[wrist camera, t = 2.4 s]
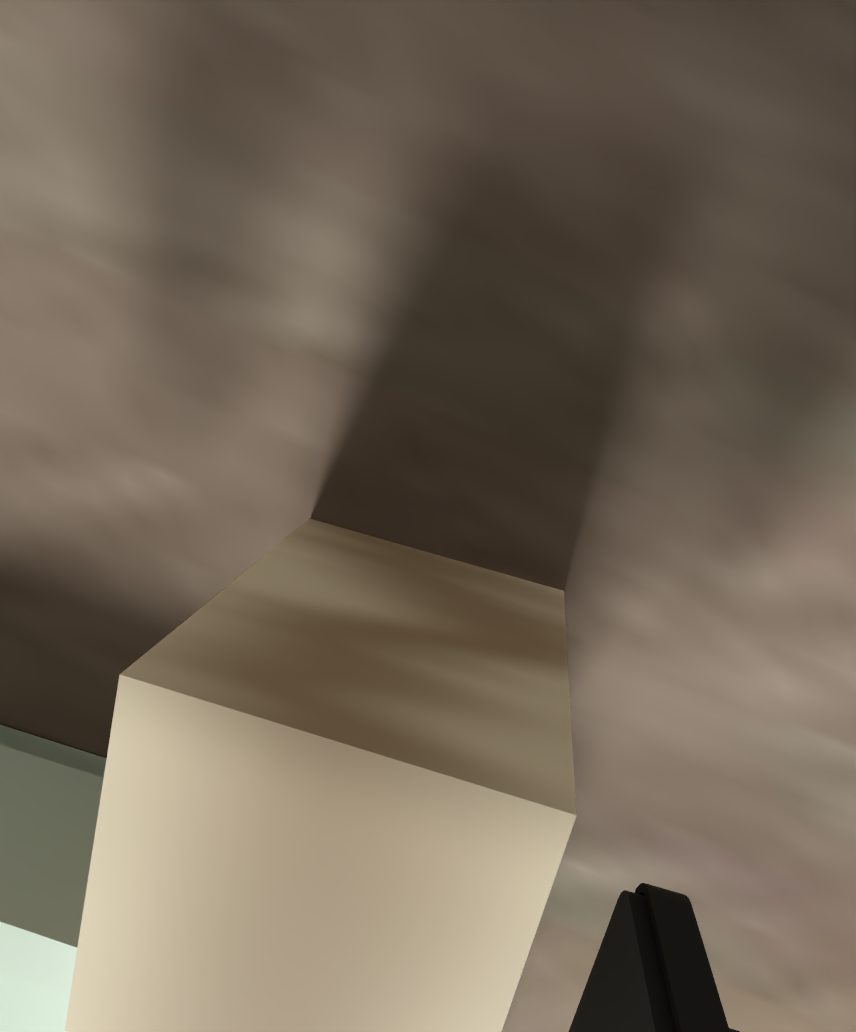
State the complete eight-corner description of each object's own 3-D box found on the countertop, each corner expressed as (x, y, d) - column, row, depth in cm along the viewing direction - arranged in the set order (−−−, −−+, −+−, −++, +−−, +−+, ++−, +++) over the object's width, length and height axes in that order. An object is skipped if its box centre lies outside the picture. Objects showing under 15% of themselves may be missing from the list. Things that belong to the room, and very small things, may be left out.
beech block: (563, 590, 15) (576, 815, 8) (493, 813, 16) (454, 1167, 9) (310, 518, 15) (119, 674, 8) (262, 741, 16) (64, 1030, 10)
